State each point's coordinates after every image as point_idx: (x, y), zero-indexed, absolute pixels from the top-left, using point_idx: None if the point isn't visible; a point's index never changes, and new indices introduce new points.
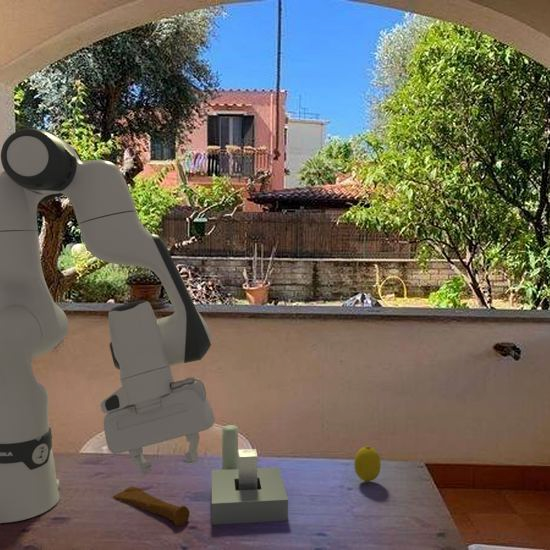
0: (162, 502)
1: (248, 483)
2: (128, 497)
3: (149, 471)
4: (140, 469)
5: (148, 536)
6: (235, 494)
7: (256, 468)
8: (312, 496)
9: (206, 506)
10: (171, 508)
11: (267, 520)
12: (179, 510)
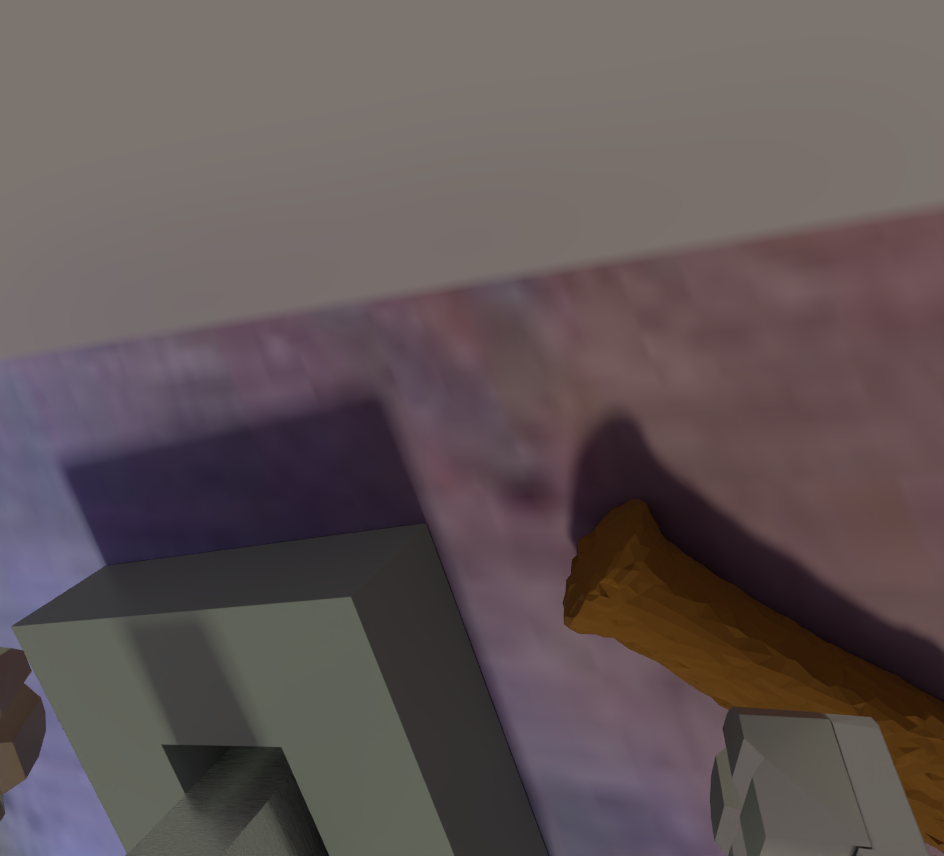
0: None
1: (222, 800)
2: None
3: (733, 756)
4: (871, 774)
5: (813, 356)
6: (261, 700)
7: None
8: None
9: (530, 723)
10: (685, 625)
11: (173, 559)
12: (593, 572)
